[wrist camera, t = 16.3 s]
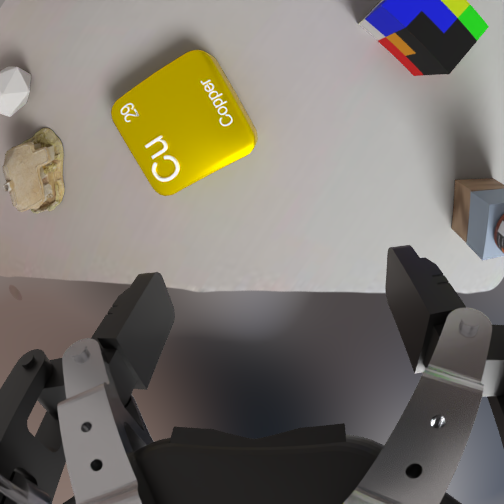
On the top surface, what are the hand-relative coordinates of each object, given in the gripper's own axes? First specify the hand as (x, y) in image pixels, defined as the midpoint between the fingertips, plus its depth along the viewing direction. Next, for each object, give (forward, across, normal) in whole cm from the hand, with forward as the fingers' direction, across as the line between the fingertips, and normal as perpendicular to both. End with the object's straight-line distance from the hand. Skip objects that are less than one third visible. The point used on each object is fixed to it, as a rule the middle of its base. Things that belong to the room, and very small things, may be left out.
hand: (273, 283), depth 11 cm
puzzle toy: (+32, -20, -15) cm, 41 cm away
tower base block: (+32, -30, +11) cm, 46 cm away
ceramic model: (+32, +38, -4) cm, 50 cm away
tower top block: (+27, -30, +11) cm, 42 cm away
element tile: (+33, +11, -5) cm, 35 cm away
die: (+32, +39, -20) cm, 54 cm away
